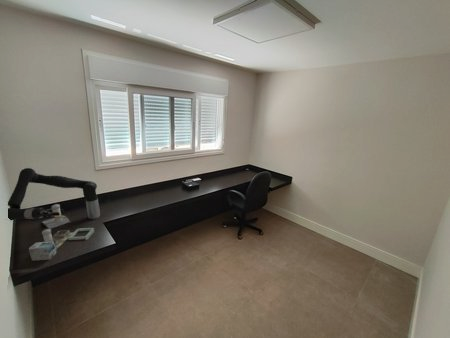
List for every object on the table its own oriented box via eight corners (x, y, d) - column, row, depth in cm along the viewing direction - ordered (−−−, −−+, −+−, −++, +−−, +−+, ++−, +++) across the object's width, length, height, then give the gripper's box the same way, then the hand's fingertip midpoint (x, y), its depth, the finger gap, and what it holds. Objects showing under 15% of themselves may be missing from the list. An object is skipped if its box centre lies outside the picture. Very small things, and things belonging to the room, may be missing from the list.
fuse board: (57, 234, 154) (56, 230, 153) (73, 234, 156) (73, 229, 154) (36, 253, 134) (35, 248, 133) (56, 251, 136) (55, 247, 135)
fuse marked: (57, 219, 149) (54, 204, 145) (64, 219, 150) (60, 204, 146) (53, 223, 144) (49, 207, 141) (60, 222, 145) (56, 207, 142)
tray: (78, 232, 158) (77, 228, 157) (94, 231, 160) (93, 227, 159) (69, 241, 146) (68, 237, 145) (86, 240, 148) (85, 236, 147)
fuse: (48, 244, 140) (44, 229, 136) (55, 244, 141) (52, 228, 137) (44, 249, 136) (39, 232, 132) (51, 248, 136) (47, 232, 133)
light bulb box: (57, 254, 134) (54, 240, 131) (50, 261, 127) (47, 247, 124) (39, 255, 132) (35, 241, 129) (31, 262, 125) (27, 248, 122)
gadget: (72, 225, 168) (72, 221, 167) (50, 233, 156) (49, 229, 155) (63, 216, 181) (62, 213, 180) (41, 223, 169) (40, 219, 168)
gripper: (25, 213, 135) (53, 212, 138) (41, 204, 148) (66, 203, 151) (28, 223, 137) (55, 221, 140) (43, 213, 151) (68, 212, 153)
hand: (61, 212), depth 145 cm, fingers closed on fuse marked, 4 cm apart
